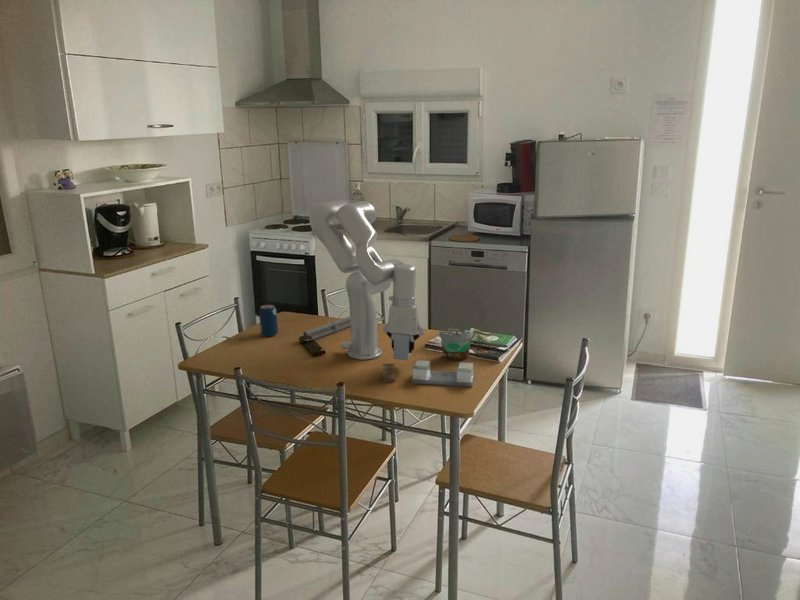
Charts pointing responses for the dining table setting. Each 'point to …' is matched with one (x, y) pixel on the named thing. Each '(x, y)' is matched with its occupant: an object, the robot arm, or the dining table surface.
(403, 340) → the grey-blue module block
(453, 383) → the rail
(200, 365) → the dining table surface
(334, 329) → the metal rod assembly
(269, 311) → the soda can
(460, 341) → the food container
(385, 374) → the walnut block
